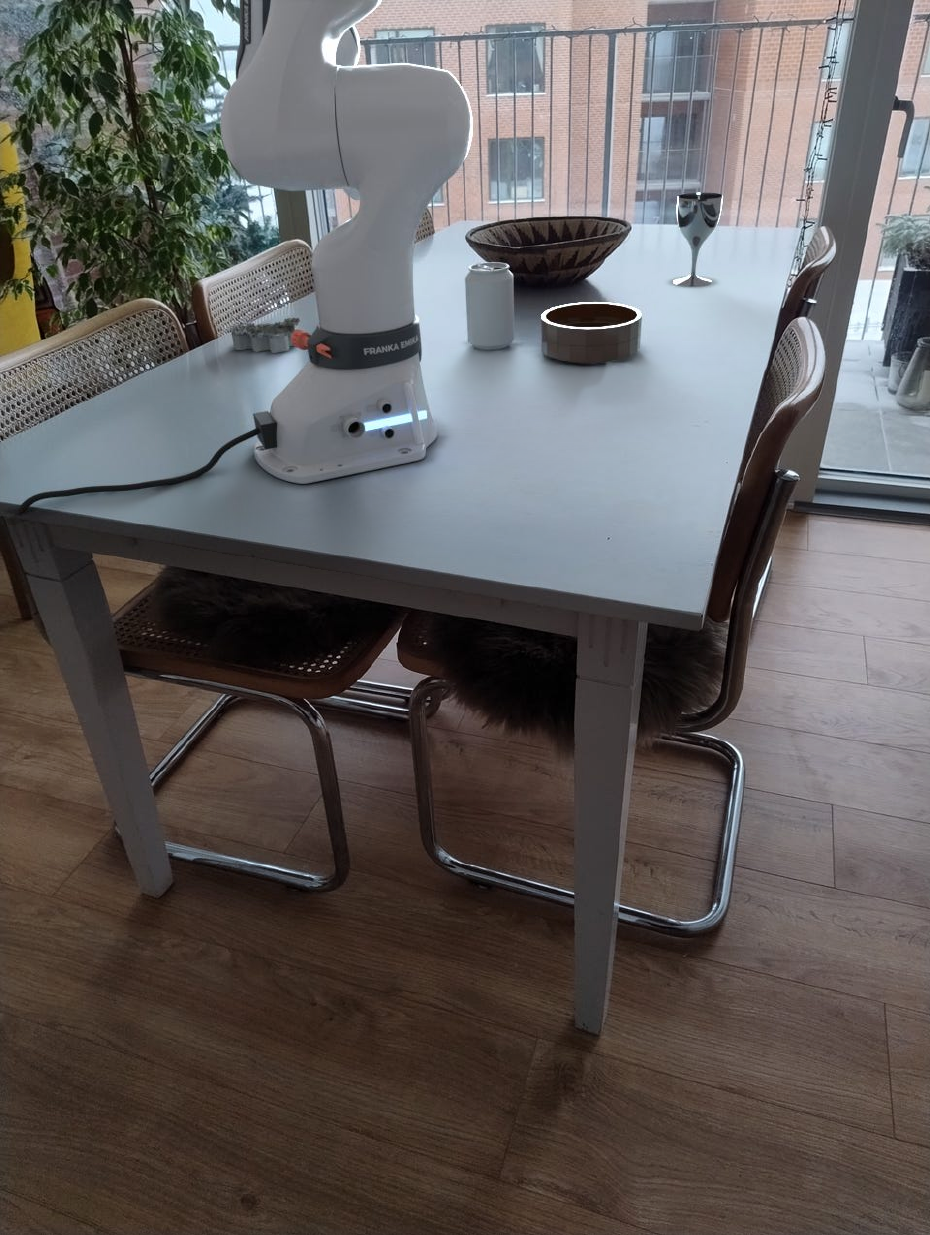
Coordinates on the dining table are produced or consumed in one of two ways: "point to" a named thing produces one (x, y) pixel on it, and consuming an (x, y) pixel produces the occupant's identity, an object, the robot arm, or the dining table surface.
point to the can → (490, 305)
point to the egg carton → (264, 336)
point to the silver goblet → (697, 227)
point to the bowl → (591, 332)
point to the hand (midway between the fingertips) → (413, 207)
